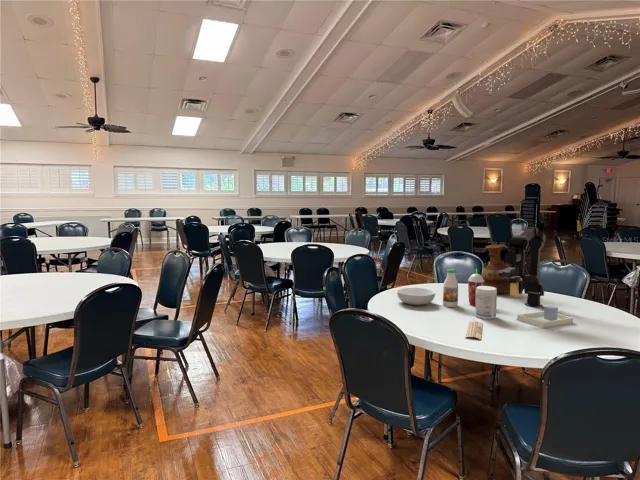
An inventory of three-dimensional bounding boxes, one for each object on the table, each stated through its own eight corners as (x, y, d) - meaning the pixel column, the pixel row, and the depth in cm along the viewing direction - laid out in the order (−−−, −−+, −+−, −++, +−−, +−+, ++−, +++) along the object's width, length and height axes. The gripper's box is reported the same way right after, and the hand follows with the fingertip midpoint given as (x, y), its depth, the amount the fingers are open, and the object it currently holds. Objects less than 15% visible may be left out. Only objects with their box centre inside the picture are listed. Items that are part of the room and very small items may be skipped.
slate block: (549, 317, 198) (550, 305, 197) (557, 319, 194) (557, 307, 194) (543, 318, 196) (544, 306, 196) (551, 320, 193) (552, 308, 192)
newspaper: (468, 324, 192) (468, 320, 192) (484, 326, 189) (485, 322, 189) (465, 339, 171) (465, 335, 170) (483, 342, 168) (483, 338, 168)
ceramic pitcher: (476, 288, 266) (477, 242, 263) (507, 288, 265) (509, 242, 262) (487, 295, 246) (489, 246, 243) (521, 295, 245) (523, 246, 242)
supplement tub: (484, 313, 208) (486, 285, 206) (500, 318, 199) (501, 288, 198) (470, 315, 203) (471, 286, 202) (486, 320, 195) (487, 290, 193)
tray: (546, 315, 204) (546, 310, 204) (573, 322, 191) (573, 317, 191) (517, 319, 196) (517, 314, 196) (543, 328, 183) (543, 322, 183)
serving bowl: (431, 299, 237) (431, 287, 237) (438, 308, 217) (438, 296, 216) (395, 298, 240) (395, 286, 239) (398, 307, 219) (398, 295, 218)
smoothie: (484, 307, 220) (486, 270, 218) (468, 306, 221) (469, 269, 220) (481, 303, 228) (483, 267, 226) (466, 302, 230) (467, 267, 228)
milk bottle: (440, 304, 226) (441, 268, 224) (454, 303, 227) (455, 268, 225) (446, 307, 219) (447, 270, 217) (460, 307, 219) (461, 270, 217)
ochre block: (515, 294, 206) (516, 282, 206) (522, 295, 203) (523, 284, 202) (509, 294, 205) (510, 283, 204) (516, 296, 201) (517, 284, 201)
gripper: (491, 260, 208) (489, 290, 209) (521, 265, 191) (519, 298, 192) (507, 259, 212) (506, 288, 213) (538, 264, 195) (537, 296, 196)
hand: (516, 292), depth 204 cm, fingers closed on ochre block, 4 cm apart
